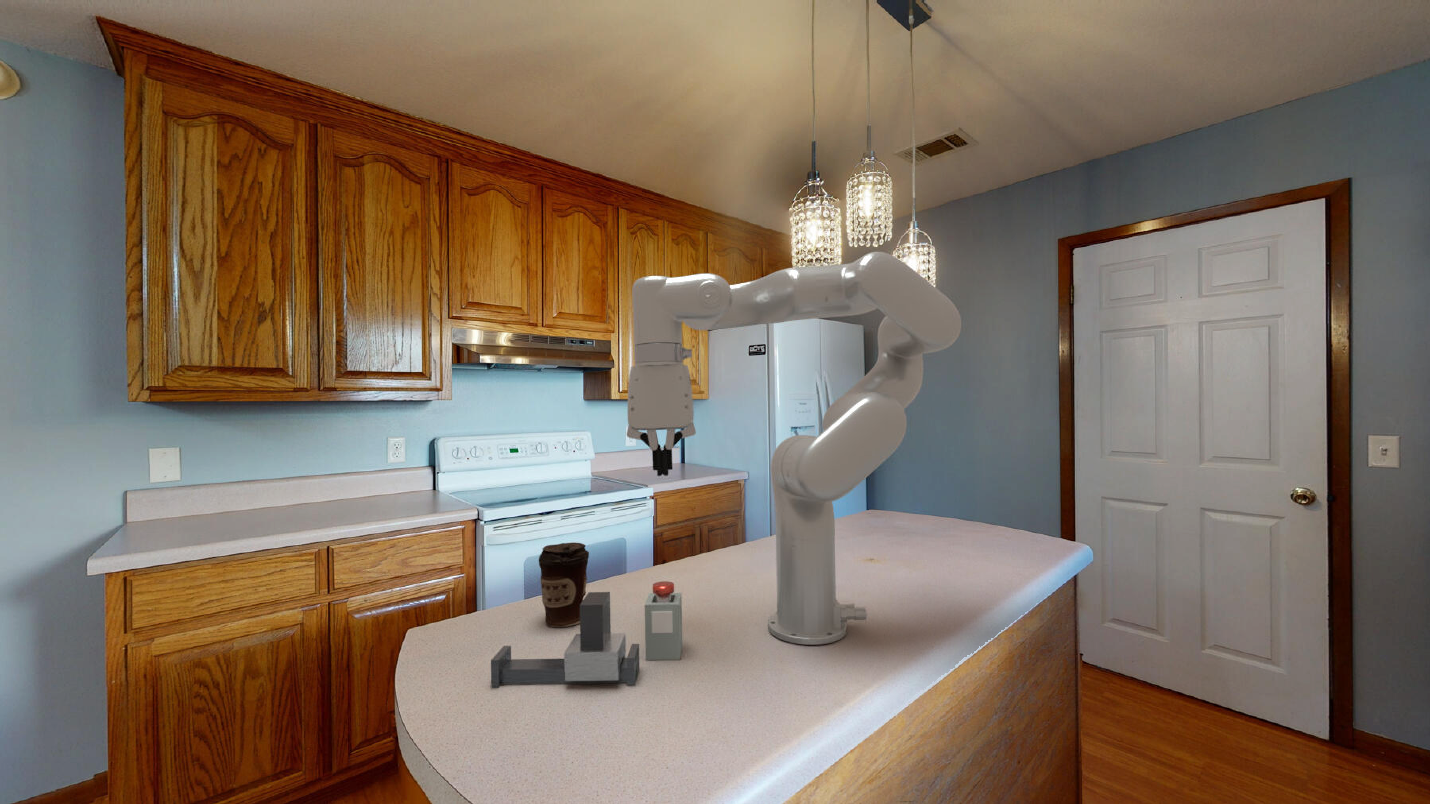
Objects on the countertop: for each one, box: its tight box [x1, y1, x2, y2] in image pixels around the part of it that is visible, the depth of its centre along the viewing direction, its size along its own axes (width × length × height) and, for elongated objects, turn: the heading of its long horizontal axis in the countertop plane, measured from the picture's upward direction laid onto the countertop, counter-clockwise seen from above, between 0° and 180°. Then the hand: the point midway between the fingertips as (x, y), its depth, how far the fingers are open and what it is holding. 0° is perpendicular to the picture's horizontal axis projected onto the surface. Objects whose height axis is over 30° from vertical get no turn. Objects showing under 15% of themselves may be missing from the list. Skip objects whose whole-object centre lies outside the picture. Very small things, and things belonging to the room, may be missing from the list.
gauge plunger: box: [652, 580, 675, 603], centre depth 82 cm, size 3×3×7 cm
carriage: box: [563, 591, 627, 681], centre depth 75 cm, size 7×6×10 cm
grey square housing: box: [644, 592, 683, 661], centre depth 82 cm, size 5×5×8 cm
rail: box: [490, 643, 640, 689], centre depth 75 cm, size 19×4×4 cm, turn 90°
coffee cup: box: [538, 542, 590, 628], centre depth 95 cm, size 9×8×13 cm
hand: (663, 474), depth 86 cm, fingers closed
